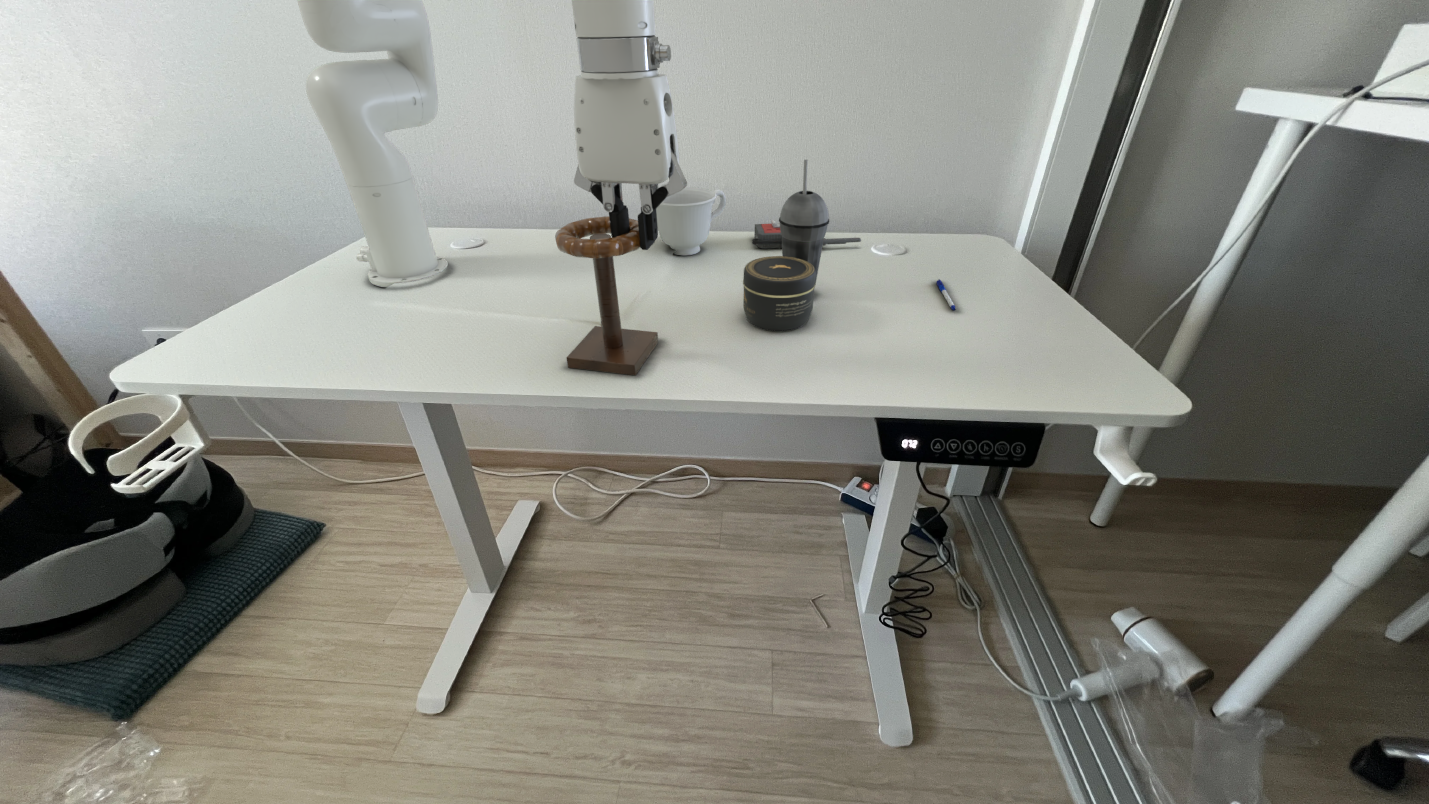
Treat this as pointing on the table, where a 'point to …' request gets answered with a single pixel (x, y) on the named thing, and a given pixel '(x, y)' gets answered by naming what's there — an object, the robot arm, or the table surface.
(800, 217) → the beverage cup
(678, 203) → the teacup
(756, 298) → the jar
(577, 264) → the table surface
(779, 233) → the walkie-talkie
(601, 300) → the post
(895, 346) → the table surface
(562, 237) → the ring
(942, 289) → the blue marker pen
